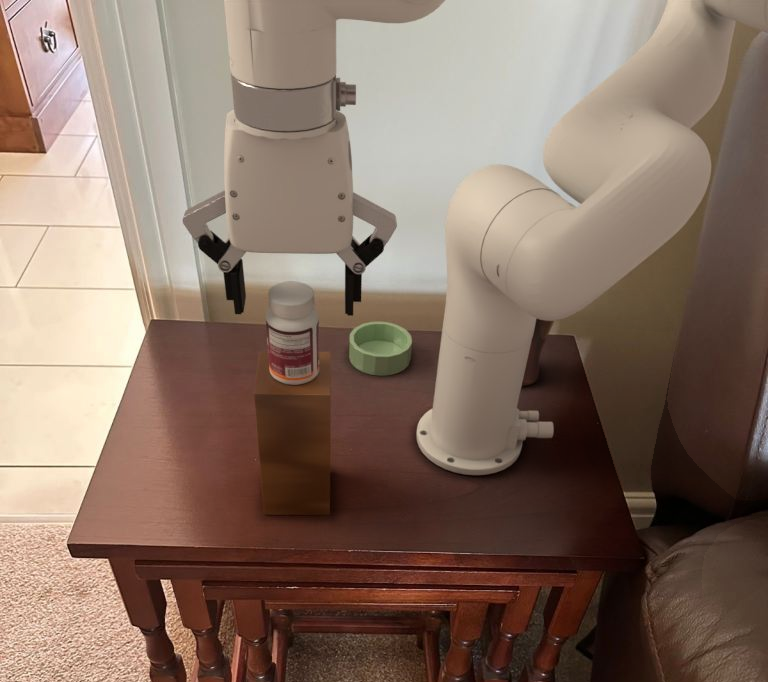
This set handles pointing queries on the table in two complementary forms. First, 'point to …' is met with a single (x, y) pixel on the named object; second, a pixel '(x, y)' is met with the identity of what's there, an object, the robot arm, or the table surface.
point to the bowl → (380, 348)
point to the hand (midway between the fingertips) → (295, 306)
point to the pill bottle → (292, 333)
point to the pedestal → (294, 440)
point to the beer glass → (536, 351)
